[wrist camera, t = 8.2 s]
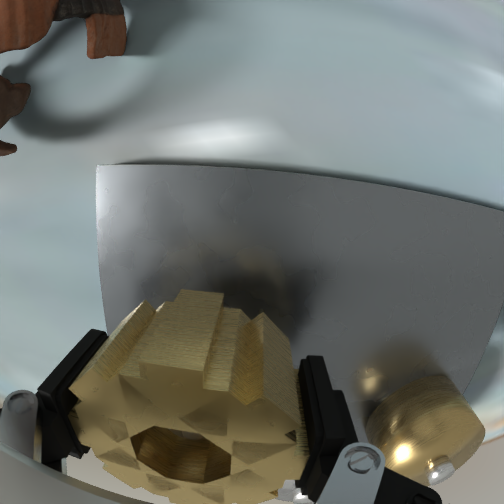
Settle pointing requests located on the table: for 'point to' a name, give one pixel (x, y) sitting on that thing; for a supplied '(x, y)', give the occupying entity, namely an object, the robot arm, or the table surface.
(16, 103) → the brown clawed ring bracket
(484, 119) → the table surface
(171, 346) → the planet gear
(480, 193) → the table surface
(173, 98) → the table surface
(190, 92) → the table surface
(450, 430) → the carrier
